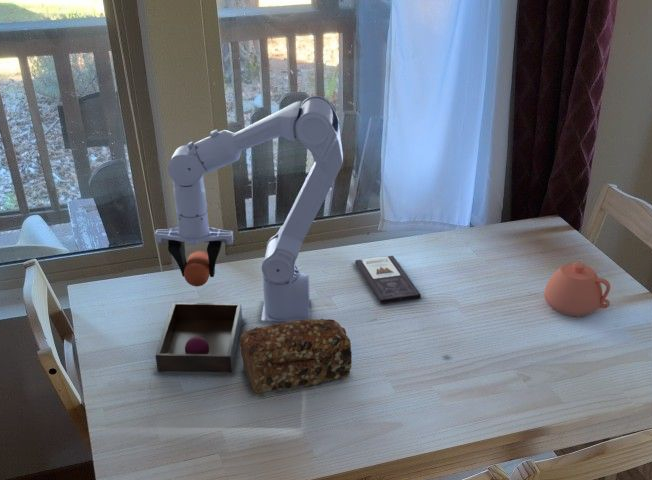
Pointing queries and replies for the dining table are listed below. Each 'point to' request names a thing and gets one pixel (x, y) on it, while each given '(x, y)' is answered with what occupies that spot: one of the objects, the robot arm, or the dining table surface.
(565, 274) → the sugar bowl
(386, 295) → the chocolate bar
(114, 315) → the dining table surface
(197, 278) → the sweet potato
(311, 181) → the robot arm
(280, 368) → the bread
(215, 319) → the dark wooden tray
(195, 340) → the onion
